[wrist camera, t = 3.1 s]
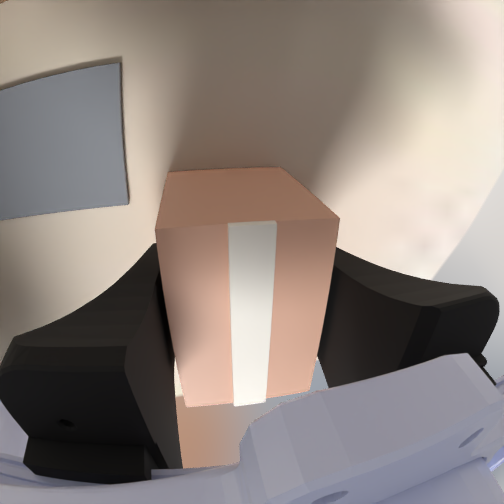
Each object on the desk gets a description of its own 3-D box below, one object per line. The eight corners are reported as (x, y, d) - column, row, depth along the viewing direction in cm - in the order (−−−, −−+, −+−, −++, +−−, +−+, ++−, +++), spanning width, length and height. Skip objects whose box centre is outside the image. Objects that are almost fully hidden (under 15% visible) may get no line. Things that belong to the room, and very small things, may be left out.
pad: (129, 202, 11) (128, 204, 11) (-20, 222, 10) (-22, 223, 10) (120, 63, 9) (119, 62, 8) (-38, 105, 7) (-40, 105, 7)
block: (273, 303, 14) (310, 394, 10) (182, 312, 14) (186, 410, 9) (280, 167, 11) (342, 220, 7) (167, 171, 11) (154, 232, 6)
